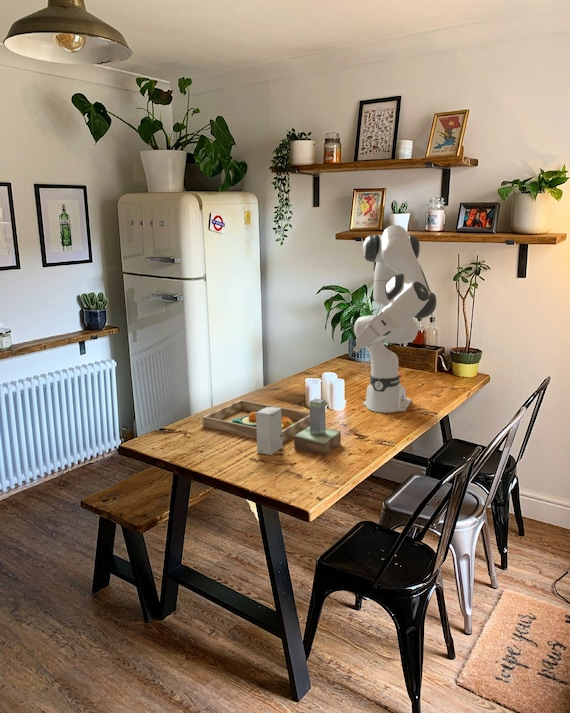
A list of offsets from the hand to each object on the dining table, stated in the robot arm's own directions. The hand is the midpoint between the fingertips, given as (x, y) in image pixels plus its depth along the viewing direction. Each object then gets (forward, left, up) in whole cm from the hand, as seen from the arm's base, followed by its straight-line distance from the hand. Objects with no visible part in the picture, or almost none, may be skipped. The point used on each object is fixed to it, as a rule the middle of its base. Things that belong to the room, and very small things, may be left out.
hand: (361, 347), depth 209 cm
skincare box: (+20, -25, -36) cm, 48 cm away
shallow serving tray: (+1, -43, -35) cm, 56 cm away
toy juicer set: (+3, -42, -36) cm, 55 cm away
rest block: (+9, -12, -35) cm, 39 cm away
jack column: (+9, -12, -30) cm, 34 cm away
